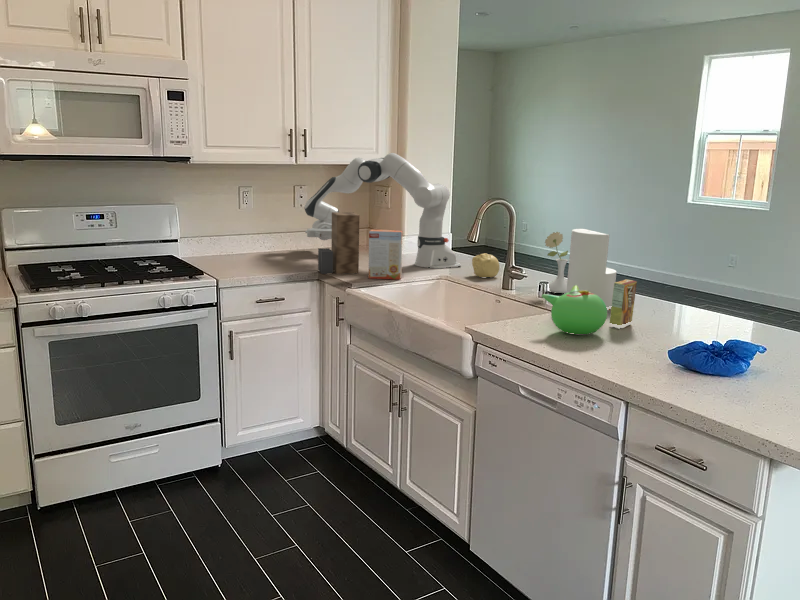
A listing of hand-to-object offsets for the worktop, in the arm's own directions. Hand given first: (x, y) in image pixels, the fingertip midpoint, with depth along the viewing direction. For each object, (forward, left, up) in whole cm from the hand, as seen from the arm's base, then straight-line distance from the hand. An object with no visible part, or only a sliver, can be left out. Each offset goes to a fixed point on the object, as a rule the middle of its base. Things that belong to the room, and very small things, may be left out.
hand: (329, 235), depth 335 cm
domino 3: (+9, +38, -12) cm, 41 cm away
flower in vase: (-76, +91, -12) cm, 120 cm away
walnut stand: (0, +34, -12) cm, 36 cm away
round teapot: (-51, +147, -12) cm, 157 cm away
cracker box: (-14, +52, -12) cm, 56 cm away
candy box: (-71, +142, -12) cm, 160 cm away
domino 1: (+9, +31, -12) cm, 35 cm away
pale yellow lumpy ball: (-60, +55, -12) cm, 83 cm away
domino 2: (+9, +35, -12) cm, 38 cm away
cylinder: (-77, +113, -12) cm, 138 cm away
